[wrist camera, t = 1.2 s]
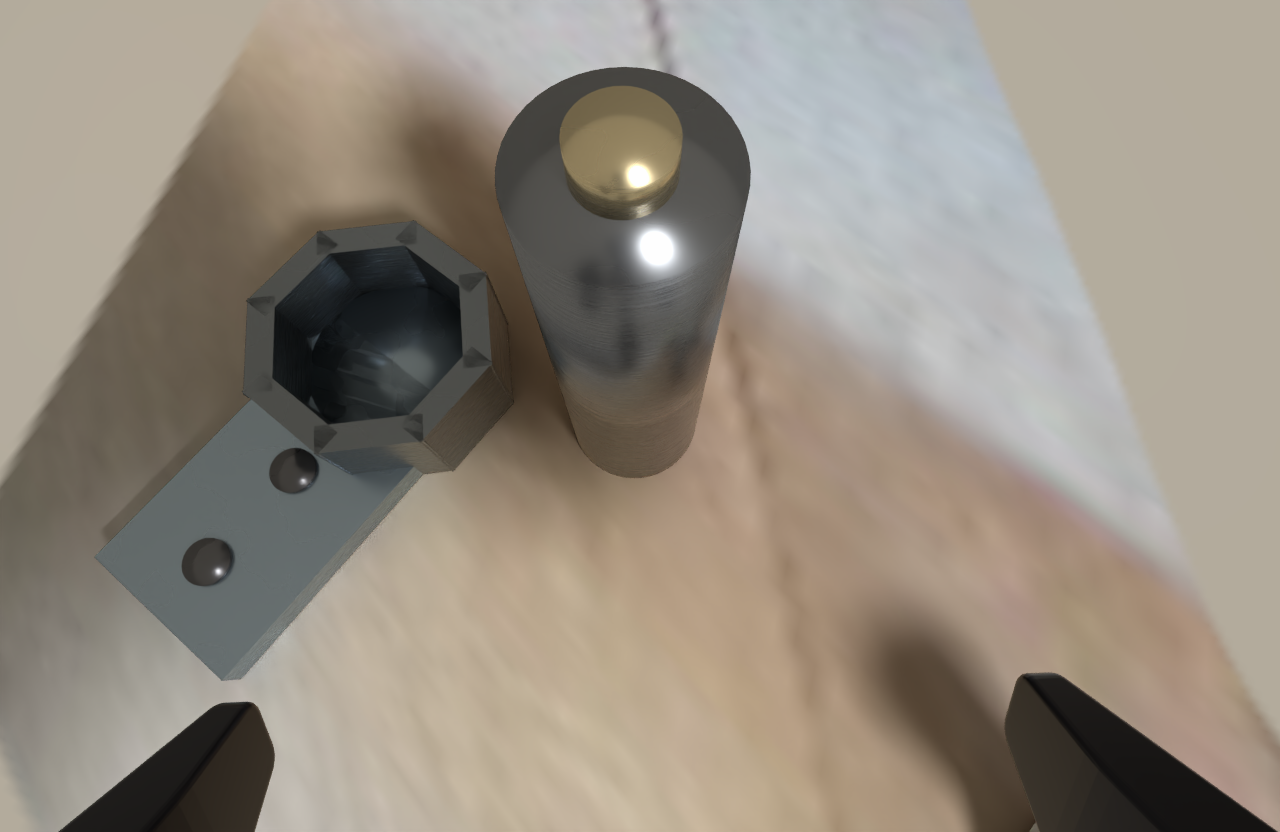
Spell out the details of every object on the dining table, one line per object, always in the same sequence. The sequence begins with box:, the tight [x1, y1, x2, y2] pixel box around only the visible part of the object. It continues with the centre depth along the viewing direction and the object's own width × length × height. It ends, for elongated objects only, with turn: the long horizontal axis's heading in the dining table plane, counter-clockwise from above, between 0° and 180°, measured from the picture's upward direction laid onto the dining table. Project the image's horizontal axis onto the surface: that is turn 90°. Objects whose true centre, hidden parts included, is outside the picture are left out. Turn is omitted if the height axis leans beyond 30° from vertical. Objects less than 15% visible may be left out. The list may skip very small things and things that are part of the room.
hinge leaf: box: [95, 220, 514, 681], centre depth 22 cm, size 14×7×4 cm, turn 142°
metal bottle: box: [495, 67, 751, 478], centre depth 17 cm, size 4×4×14 cm
